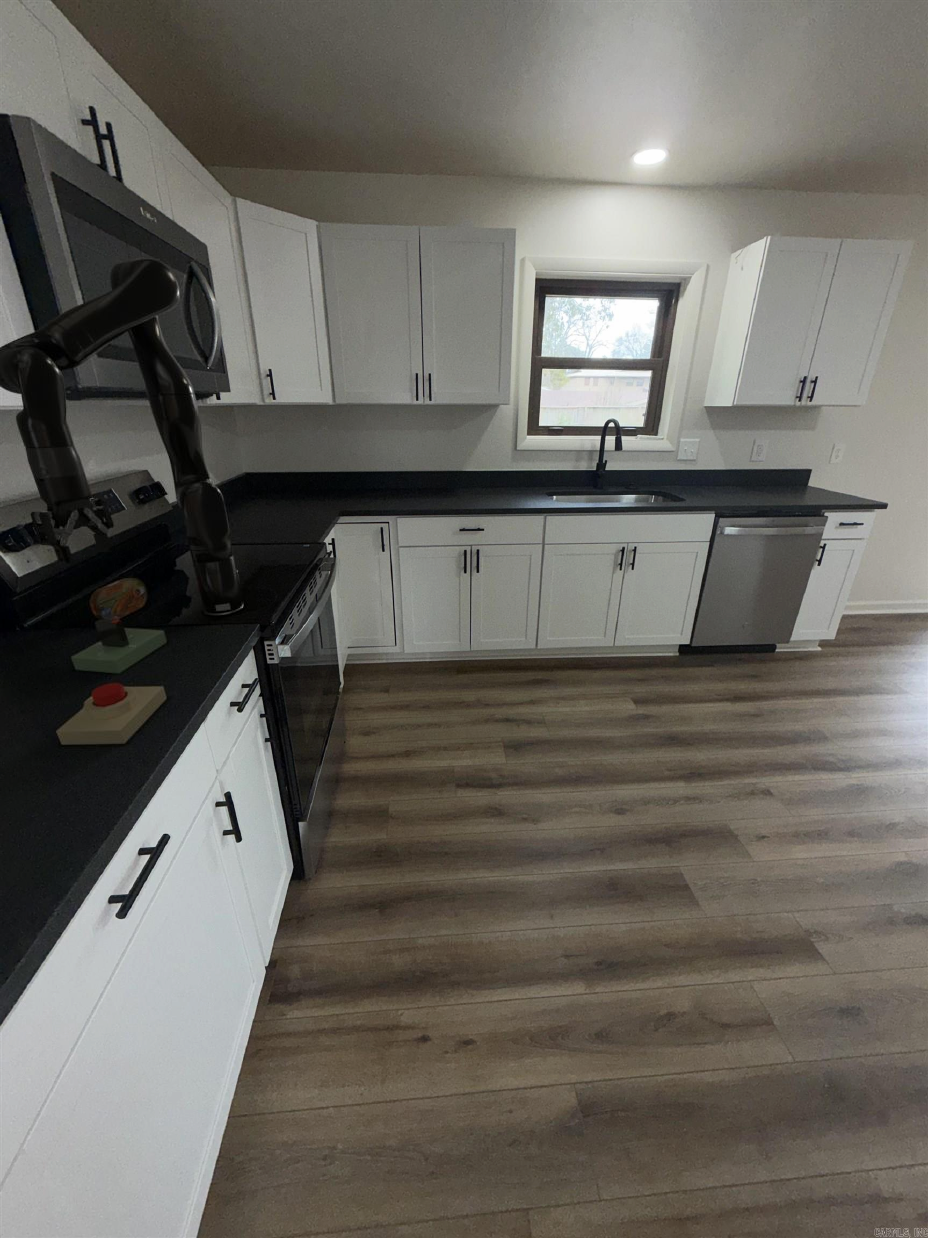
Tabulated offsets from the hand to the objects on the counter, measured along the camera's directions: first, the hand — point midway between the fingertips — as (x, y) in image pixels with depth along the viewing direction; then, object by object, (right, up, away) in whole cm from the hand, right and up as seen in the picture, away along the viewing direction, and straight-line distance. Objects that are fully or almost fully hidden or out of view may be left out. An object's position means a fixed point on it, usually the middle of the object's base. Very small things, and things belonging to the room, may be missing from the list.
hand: (87, 558), depth 96 cm
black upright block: (0, -17, +8) cm, 19 cm away
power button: (+14, -26, -13) cm, 32 cm away
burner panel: (0, -20, +10) cm, 22 cm away
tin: (-14, -11, +31) cm, 35 cm away
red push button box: (+14, -29, -11) cm, 34 cm away
